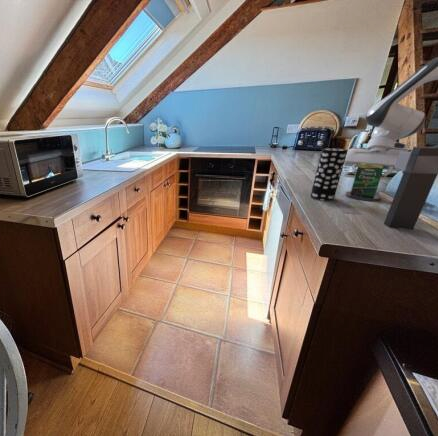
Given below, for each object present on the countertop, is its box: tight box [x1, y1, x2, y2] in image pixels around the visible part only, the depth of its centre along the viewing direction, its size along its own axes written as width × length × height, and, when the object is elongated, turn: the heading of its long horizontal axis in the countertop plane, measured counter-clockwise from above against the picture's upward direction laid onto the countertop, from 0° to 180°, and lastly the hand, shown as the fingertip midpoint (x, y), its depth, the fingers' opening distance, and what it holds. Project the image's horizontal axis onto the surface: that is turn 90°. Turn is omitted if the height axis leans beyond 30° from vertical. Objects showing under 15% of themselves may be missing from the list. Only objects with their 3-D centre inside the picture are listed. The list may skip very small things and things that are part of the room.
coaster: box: [344, 190, 380, 202], centre depth 103 cm, size 11×11×1 cm
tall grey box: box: [383, 146, 438, 230], centre depth 74 cm, size 8×6×24 cm
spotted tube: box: [309, 147, 348, 202], centre depth 99 cm, size 8×8×20 cm
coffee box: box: [350, 163, 385, 197], centre depth 101 cm, size 8×3×13 cm, turn 40°
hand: (368, 175), depth 102 cm, fingers open, 8 cm apart
